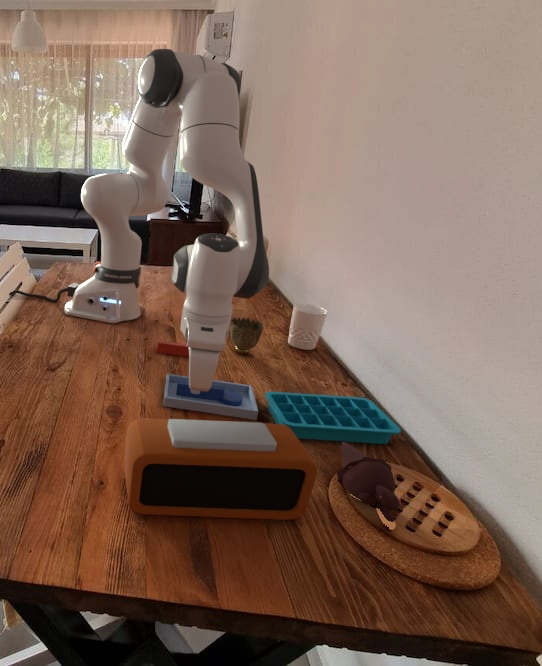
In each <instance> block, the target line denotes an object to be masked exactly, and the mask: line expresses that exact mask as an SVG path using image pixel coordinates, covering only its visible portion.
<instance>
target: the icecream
mask: <svg viewBox="0 0 542 666" xmlns="http://www.w3.org/2000/svg"><path fill="white" fill-rule="evenodd" d="M341 454H342V465H343V468H341V469H339V470H337V472H336V476H337V482H338V483H339V484H340V485H341V486H342V488H343V489H344V490H346V492H347V493H348V494H349V493H350V494H352V495H353V496H355V497H356V498H358V499H360V500H361V501H362V502H361V503H362V504H365V505H366V506H367V505H368V506H370V505H369V504H374V505H375V506H376V508H378V509H380V511H381V512H382V514H383V515H384V517H385V518H386V519H387V520H388V521H391V522H393V521H394V520H395V521H396V519H395V516H394V514H393V512H396V511H397V510H398V509H399V508H400V506H401V503H400V502H401V501H400V500H399V497H398V496H397V495H396V493H395V491H396V481H395V477H394V474H393V471H392V466H391V465H390V464H389V463H387V462H386V461H385V460H384V459H382V458H375V457H374V458H373V457H370V456H368V455H367V454H365V453H363V452H362V451H361V450H359V449H357V448H356V447H355V446H353V445H351V444H349V443H348V442H347V441H341ZM353 500H356V499H355V498H353ZM374 505H373V506H374ZM382 526H383V527H384V528H385V530H387V531H389V532H393V531H392V530H390V529H389V527H387V525H386V526H385V524H382Z"/></svg>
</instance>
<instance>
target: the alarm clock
mask: <svg viewBox="0 0 542 666" xmlns="http://www.w3.org/2000/svg"><path fill="white" fill-rule="evenodd" d="M125 437H126V438H125V447H124V459H123V469H124V477H125V485H126V495H127V503H128V506H129V508H130V509H131V510H132V512H133V513H136V514H138V515H142V516H143V515H145V516H167V517H168V516H169V517H171V516H173V517H196V518H197V517H199V518H200V517H201V518H224V519H227V518H228V519H248V520H249V519H251V520H253V519H254V520H277V521H279V520H280V521H291V520H296V519H299V518H300V517H302V516H303V515H304V514H305V513H306V511H307V508H308V505H309V501H310V498H311V495H312V492H313V488H314V485H315V482H316V479H317V475H318V466H317V464H316V461H315V460H314V459H313V458H312V456H311V455H310V453H309V452H308V451H307V449H306V448H305V446H304V445H303V444H302V442H301V441H300V438H297V437H296V435H295V434H294V433H293V431H292V430H291V428H289V427H288V426H286V425H283V424H276V423H268V422H267V423H266V422H254V421H228V420H207V419H206V420H205V419H204V420H203V419H180V418H169V419H168V418H147V417H145V418H143V417H142V418H137V419H134V420H132V421H131V422H130V424H129V425H128V427H127V430H126V436H125Z"/></svg>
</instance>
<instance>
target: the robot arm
mask: <svg viewBox="0 0 542 666" xmlns="http://www.w3.org/2000/svg"><path fill="white" fill-rule="evenodd" d="M136 82H137V84H136V89H137V93H138V96H139V99H138V100H137V103H136V105H135V107H134V110H133V113H132V115H131V118H130V121H129V124H128V126H127V129H126V132H125V135H124V138H123V140H122V143H121V150H122V153H123V157H124V158H125V159H126V161H128V163H129V164H130V165H129V169H128V170H127V172H126V173H101V174H97V175H93V176H90V177H88V178H87V179H86V180H85V182H84V184H83V185H82V187H81V193H80V201H81V203H82V206H83V208H84V210H85V211H86V213H88V215H90V216H91V217H92V219H93V220H94V221H95V223H96V225H97V227H98V230H99V234H100V240H101V249H100V250H101V251H100V252H101V253H100V255H101V256H100V261H96V263H94V265H93V271H92V275H93V276H92V277H90V278H88V279H87V280H85V281H84V282H83V283H77V282H73V283H71V284H69V285H67V287H64V288H62V289H60V290H59V291H58V292H57V295H56V298H50V297H48V296H45V295H43V294H36V293H35V294H34V293H29V292H24V291H22V290H19V289H14V290H12V291H13V292H12V291H10V292H9V293H8V295H9V296H13V295H15V294H19V295H22V296H24V297H28V298H35V299H36V298H37V299H43V300H45V301H48V302H51V303H58V302H59V301H60V299H61V295H62V294H63V293H66V292H67V294H66V295H67V297H68V298H72V299H70V300H69V301H68V302H66V304H65V305H64V310H63V311H64V313H65V315H68V316H73V317H78V318H81V319H82V318H83V319H87V320H93V321H99V322H104V323H108V324H117V323H120V322H125V321H133V320H136V319H138V318H139V317H141V315H142V312H141V307H140V299H139V298H140V297H139V287H140V285H141V278H142V277H141V276H142V267H141V255H142V245H143V242H142V239H141V237H140V236H139V235H138V234H137V232H135V231H134V230H132V229H131V227H130V223H129V217H139V216H141V217H143V216H148V215H153V214H155V213H158V212H160V211H162V210H163V209H164V208H165V206H166V205H167V202H168V198H169V188H168V185H167V183H166V181H165V180H164V177H163V166H164V161H165V159H166V156H167V153H168V152H169V149H170V146H171V143H172V141H173V138H174V137H175V135H176V131H177V130H178V126H179V124H180V131H179V132H180V133H179V159H180V164H181V166H182V168H183V170H184V171H185V172H186V173H187V174H188V176H190V178H192V179H194V181H196V182H198V183H200V184H201V185H203V186H206V187H208V188H210V189H213V190H215V191H217V192H218V193H220V194H222V195H224V197H226V198H227V199H228V200H229V201H230V202H231V204H232V206H233V209H234V216H235V228H236V237H237V240H236V239H235V238H234V237H232V236H230V235H229V236H228V235H226V234H222V233H216V232H215V233H213V232H212V233H211V232H210V233H204V234H201V235H199V236H197V238H195V240H194V242H193V243H194V244H189V245H184V246H182V247H181V248H180V249H178V250H177V251H176V252H175V253H174V255H173V259H172V267H171V274H170V282H171V283H172V284H173V286H174V287H175V288H176V289H177V290H178V291H180V293H185V295H186V296H185V300H184V303H183V305H182V312H181V318H180V327H179V329H180V332H181V333H182V335H183V337H184V340H185V344H187V347H188V349H189V357H188V377H189V388H190V389H191V393H192V394H200V391H209V390H210V388H211V386H212V383H213V380H214V379H215V377H216V376H215V375H216V373H217V372H216V371H217V369H218V364H219V360H220V356H221V352H224V351H225V349H226V344H227V343H226V342H227V338H228V336H229V333H230V328H231V320H232V315H233V298H239V299H248V300H249V299H251V298H253V297H255V296H256V295H258V294H259V293H260V292H261V291H262V290H263V289H264V288H265V287H266V286H267V284H268V283H269V277H270V265H269V259H268V254H267V251H266V246H265V241H264V229H263V221H262V209H261V201H260V192H259V184H258V178H257V174H256V170H255V167H254V165H253V164H252V163H250V162H249V161H248V160H247V159H246V157H245V155H244V153H243V151H242V148H241V143H240V100H239V98H240V94H241V90H242V89H241V87H242V81H241V75H240V73H239V72H238V70H237V69H236V68H234V67H233V66H231V65H229V64H228V63H225V62H219V61H216V60H215V59H212V58H210V57H208V56H204V55H201V54H193V53H189V52H188V53H187V52H182V51H174V50H173V49H171V48H156V49H153V50H151V51H150V52H149V53H148V54H147V55H146V56H145V58H144V59H143V61H142V63H141V65H140V68H139V71H138V75H137V81H136Z"/></svg>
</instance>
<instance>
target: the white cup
mask: <svg viewBox="0 0 542 666" xmlns="http://www.w3.org/2000/svg"><path fill="white" fill-rule="evenodd" d="M291 313H292V314H291V318H290V324H289V330H288V332H289V334H288V338H287V343H288V345H289V346H291V347H293V348H295V349H298V350H305V351H308V350H309V351H312V350H314V349H316V347H317V344H318V341H319V338H320V336H321V333H322V330H323V328H324V325H325V323H326V319H327V316H328V313H329V311H328V310H327V309H326V308H324V307H321V306H319V305H315V304H311V303H296V304H294V305H293V307H292V312H291Z"/></svg>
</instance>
